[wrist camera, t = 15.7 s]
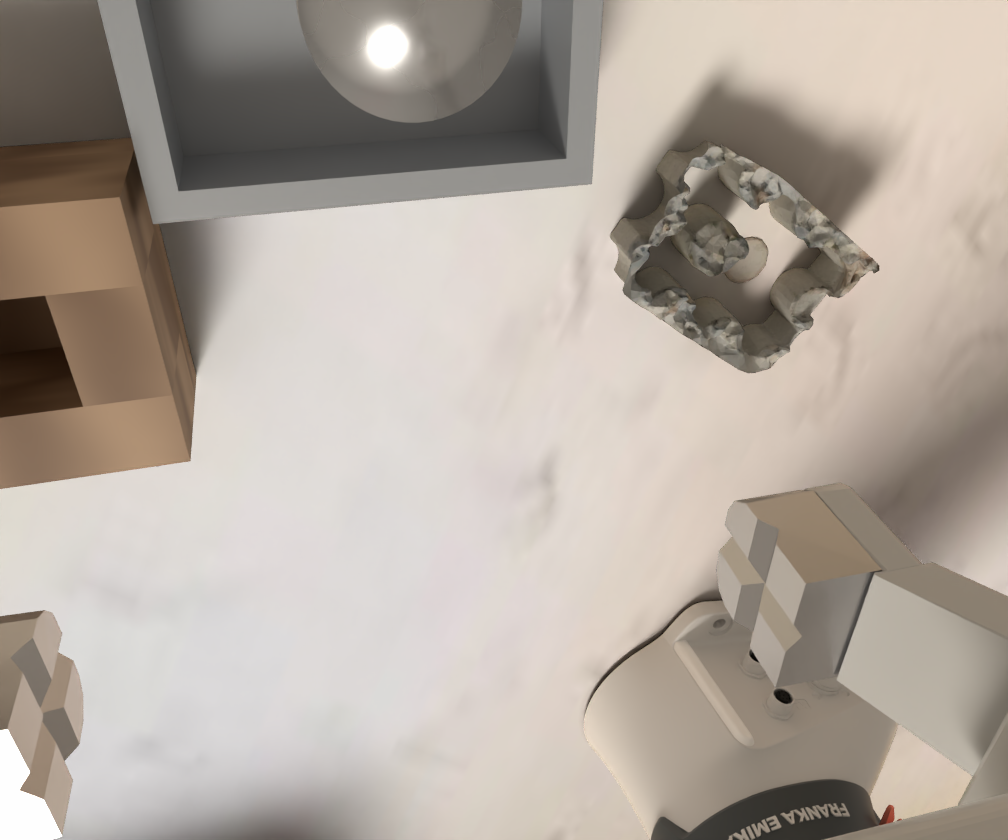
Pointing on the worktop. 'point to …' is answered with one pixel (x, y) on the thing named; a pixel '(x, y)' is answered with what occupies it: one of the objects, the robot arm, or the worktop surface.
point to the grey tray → (336, 113)
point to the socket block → (86, 319)
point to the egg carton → (734, 258)
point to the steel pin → (410, 51)
